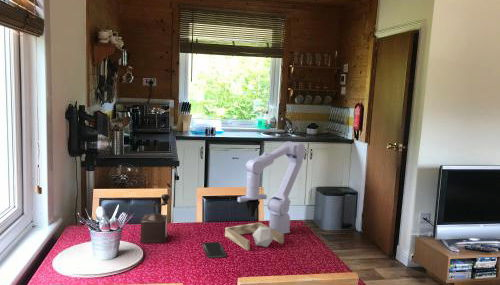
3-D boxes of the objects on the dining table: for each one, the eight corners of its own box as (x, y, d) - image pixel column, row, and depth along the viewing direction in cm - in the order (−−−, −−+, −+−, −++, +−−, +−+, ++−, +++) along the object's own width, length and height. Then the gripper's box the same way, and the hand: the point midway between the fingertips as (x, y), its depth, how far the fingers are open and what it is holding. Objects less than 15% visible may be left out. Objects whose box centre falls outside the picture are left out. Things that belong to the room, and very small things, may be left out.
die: (275, 245, 179) (268, 225, 183) (275, 242, 171) (268, 221, 175) (258, 252, 179) (251, 231, 182) (257, 249, 171) (250, 227, 174)
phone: (207, 256, 160) (201, 242, 174) (207, 259, 160) (201, 245, 174) (227, 255, 162) (220, 241, 176) (227, 258, 162) (219, 244, 176)
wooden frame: (259, 230, 196) (259, 222, 196) (283, 243, 180) (284, 234, 180) (224, 236, 186) (225, 227, 185) (247, 250, 170) (247, 241, 169)
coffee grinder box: (166, 243, 173) (167, 202, 171) (139, 243, 172) (140, 201, 170) (169, 231, 188) (170, 193, 186) (144, 230, 187) (145, 192, 185)
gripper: (261, 183, 190) (259, 211, 191) (234, 185, 182) (233, 215, 184) (270, 186, 184) (268, 215, 186) (242, 189, 176) (241, 219, 178)
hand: (251, 215), depth 184 cm, fingers closed
